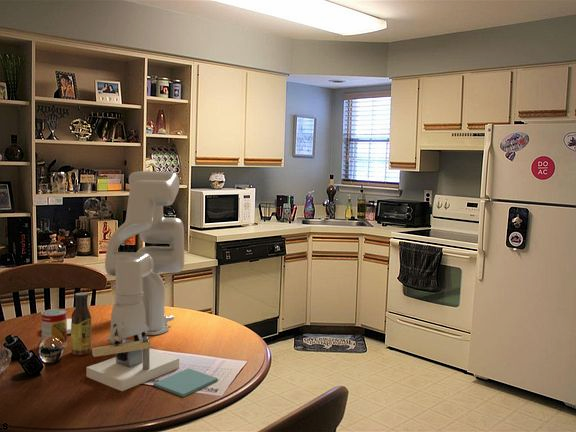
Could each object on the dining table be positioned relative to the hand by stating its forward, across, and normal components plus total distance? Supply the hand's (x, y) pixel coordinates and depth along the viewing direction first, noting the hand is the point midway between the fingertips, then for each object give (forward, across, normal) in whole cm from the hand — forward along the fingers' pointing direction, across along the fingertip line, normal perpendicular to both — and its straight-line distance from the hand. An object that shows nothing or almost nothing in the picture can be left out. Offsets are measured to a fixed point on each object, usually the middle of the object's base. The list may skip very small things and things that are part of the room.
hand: (129, 356), depth 170 cm
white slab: (+5, -1, +1) cm, 5 cm away
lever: (-5, +6, +5) cm, 9 cm away
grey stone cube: (+2, 0, 0) cm, 2 cm away
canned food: (+5, +1, -37) cm, 37 cm away
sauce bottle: (+5, -1, -25) cm, 26 cm away
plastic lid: (+5, -11, -50) cm, 51 cm away
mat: (+5, -5, +19) cm, 20 cm away
